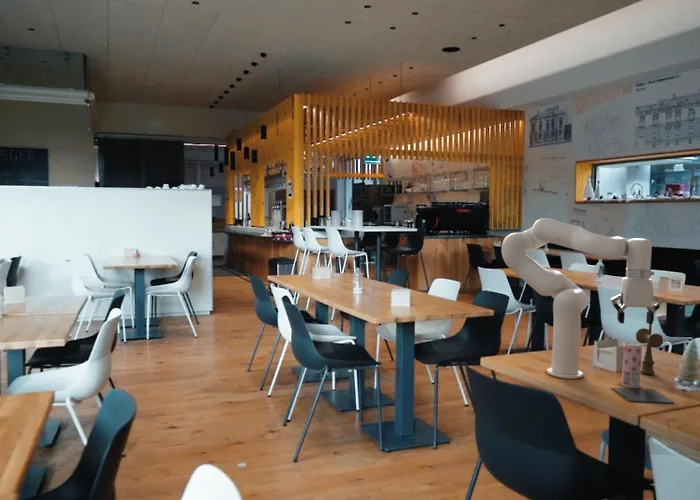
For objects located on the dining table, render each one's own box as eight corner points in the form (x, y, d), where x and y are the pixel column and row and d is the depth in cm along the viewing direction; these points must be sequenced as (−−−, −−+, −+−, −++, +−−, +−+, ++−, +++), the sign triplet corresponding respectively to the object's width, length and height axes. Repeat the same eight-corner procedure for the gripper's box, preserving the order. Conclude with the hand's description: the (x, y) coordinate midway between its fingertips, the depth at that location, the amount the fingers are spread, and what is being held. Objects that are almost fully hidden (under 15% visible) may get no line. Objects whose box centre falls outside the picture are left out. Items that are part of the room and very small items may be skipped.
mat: (611, 388, 204) (611, 387, 204) (653, 390, 204) (653, 389, 203) (629, 401, 190) (629, 400, 190) (673, 403, 190) (673, 402, 190)
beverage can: (637, 384, 210) (640, 343, 209) (640, 389, 204) (643, 346, 203) (620, 382, 211) (623, 341, 210) (622, 387, 206) (625, 344, 205)
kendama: (648, 370, 230) (651, 319, 229) (662, 377, 220) (665, 324, 219) (632, 370, 230) (636, 319, 229) (646, 377, 220) (649, 323, 219)
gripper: (658, 274, 208) (655, 322, 209) (608, 272, 209) (605, 320, 210) (668, 276, 201) (665, 326, 202) (617, 274, 202) (614, 324, 203)
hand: (635, 323), depth 206 cm, fingers open, 9 cm apart
